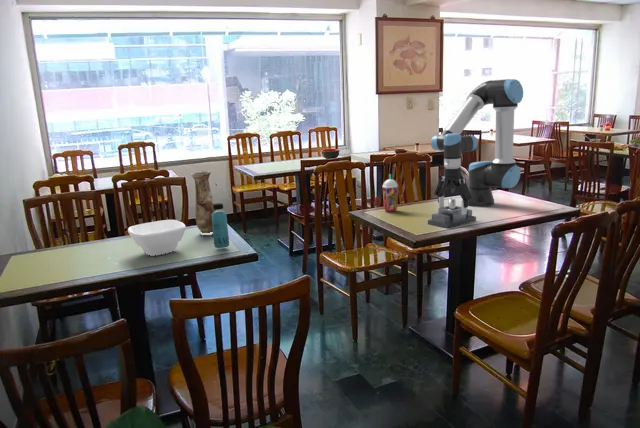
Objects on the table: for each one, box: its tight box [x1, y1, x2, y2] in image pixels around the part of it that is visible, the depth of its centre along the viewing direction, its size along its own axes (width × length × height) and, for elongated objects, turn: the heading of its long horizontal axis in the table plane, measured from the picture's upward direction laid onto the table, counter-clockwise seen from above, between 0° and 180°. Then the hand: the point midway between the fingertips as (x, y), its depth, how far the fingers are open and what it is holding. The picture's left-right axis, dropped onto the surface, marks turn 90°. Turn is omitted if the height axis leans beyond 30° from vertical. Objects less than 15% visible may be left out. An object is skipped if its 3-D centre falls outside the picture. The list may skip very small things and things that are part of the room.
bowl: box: [127, 219, 187, 257], centre depth 209 cm, size 22×22×12 cm
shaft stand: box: [427, 198, 477, 230], centre depth 233 cm, size 20×12×11 cm, turn 125°
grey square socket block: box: [437, 205, 466, 222], centre depth 233 cm, size 9×9×5 cm
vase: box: [190, 170, 217, 233], centre depth 235 cm, size 10×11×30 cm
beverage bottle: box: [211, 202, 230, 249], centre depth 208 cm, size 6×7×20 cm
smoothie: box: [382, 173, 399, 213], centre depth 261 cm, size 8×8×20 cm
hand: (452, 212), depth 233 cm, fingers open, 13 cm apart
